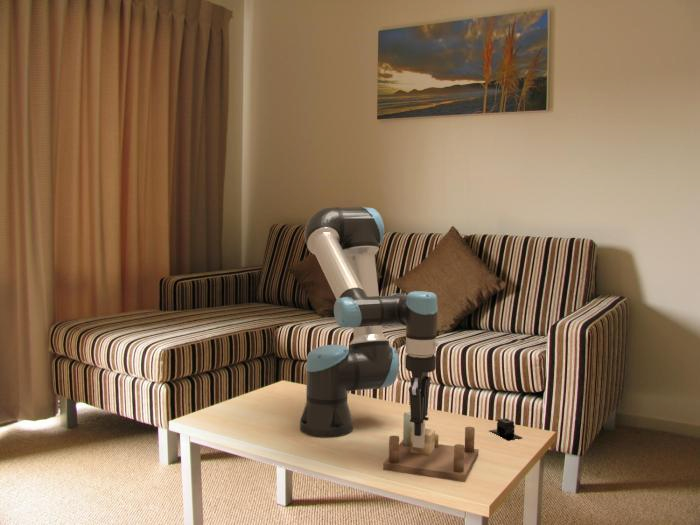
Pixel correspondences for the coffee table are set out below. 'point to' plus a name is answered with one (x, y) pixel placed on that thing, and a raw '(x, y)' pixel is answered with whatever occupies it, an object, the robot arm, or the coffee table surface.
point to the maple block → (428, 443)
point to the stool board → (434, 458)
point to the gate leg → (407, 428)
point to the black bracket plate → (505, 429)
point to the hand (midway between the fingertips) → (418, 446)
